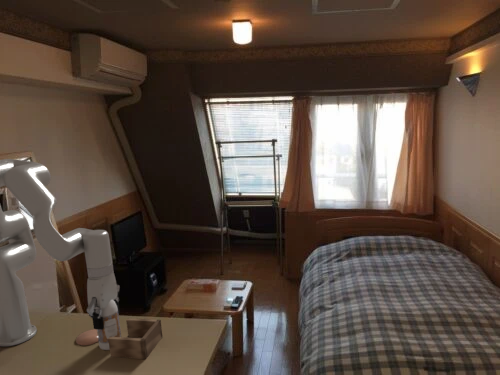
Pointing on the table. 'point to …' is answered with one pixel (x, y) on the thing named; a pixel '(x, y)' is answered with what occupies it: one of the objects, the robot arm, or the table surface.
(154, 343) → the shelf bay
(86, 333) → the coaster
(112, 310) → the bath foam
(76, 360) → the table surface
